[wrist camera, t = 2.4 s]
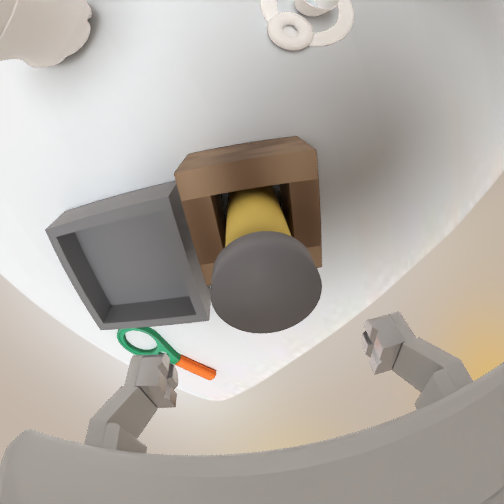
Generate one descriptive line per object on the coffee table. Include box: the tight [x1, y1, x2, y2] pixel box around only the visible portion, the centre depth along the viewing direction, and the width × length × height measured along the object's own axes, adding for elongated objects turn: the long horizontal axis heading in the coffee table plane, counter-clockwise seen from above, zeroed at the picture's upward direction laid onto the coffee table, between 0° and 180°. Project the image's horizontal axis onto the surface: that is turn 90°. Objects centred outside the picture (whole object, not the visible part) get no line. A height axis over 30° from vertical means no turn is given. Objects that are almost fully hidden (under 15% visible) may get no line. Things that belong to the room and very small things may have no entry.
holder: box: [174, 136, 322, 286], centre depth 22 cm, size 9×9×6 cm
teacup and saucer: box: [260, 0, 354, 50], centre depth 14 cm, size 9×8×4 cm
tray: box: [45, 181, 211, 330], centre depth 25 cm, size 13×13×4 cm
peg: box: [211, 185, 322, 333], centre depth 18 cm, size 5×5×14 cm
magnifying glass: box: [117, 327, 216, 380], centre depth 35 cm, size 15×6×2 cm, turn 50°
